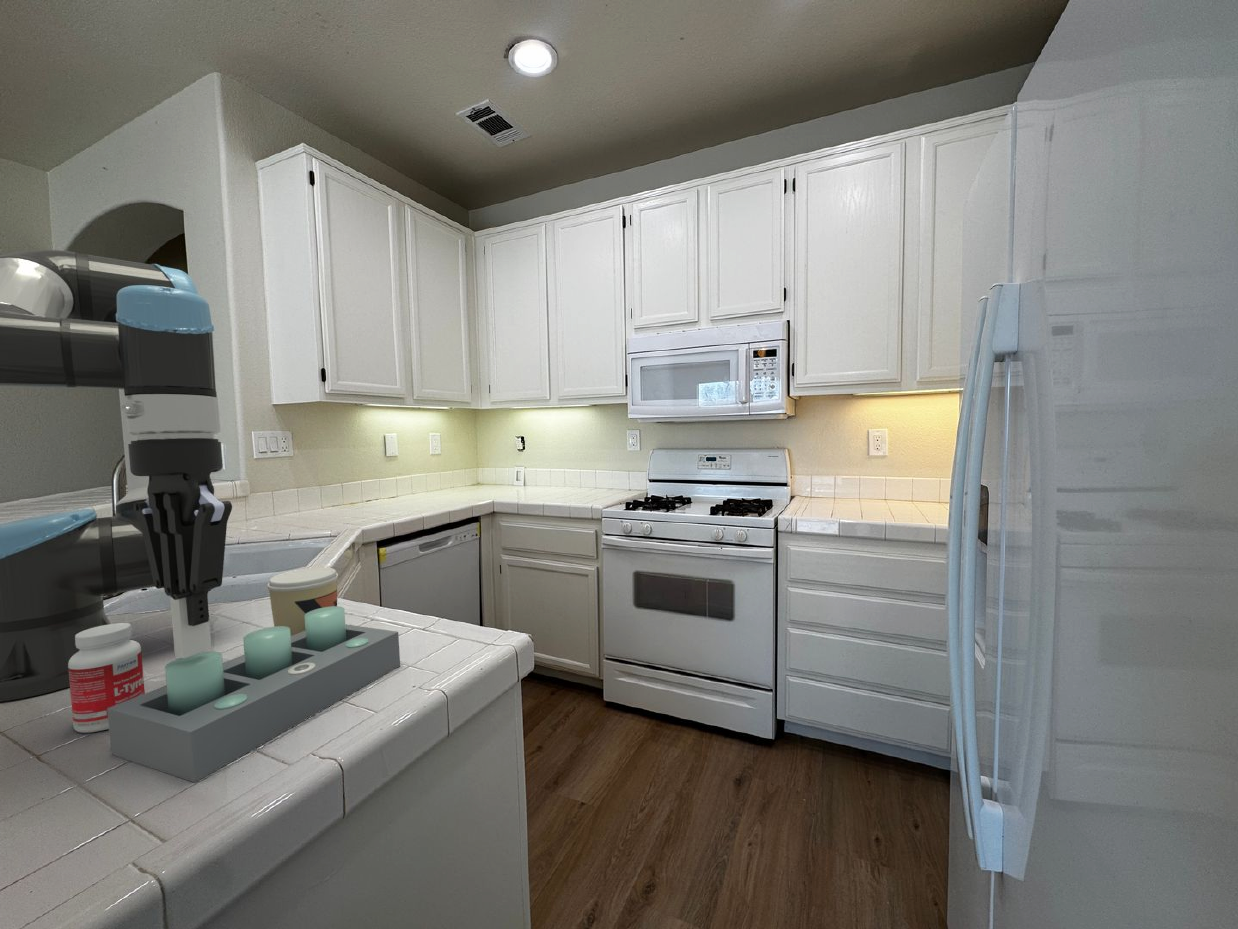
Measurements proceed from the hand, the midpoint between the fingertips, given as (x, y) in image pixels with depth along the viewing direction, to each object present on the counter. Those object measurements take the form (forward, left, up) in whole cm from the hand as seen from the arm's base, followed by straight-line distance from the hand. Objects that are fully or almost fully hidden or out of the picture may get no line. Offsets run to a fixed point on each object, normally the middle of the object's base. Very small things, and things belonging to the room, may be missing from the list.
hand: (193, 652), depth 56 cm
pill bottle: (-15, -1, -10) cm, 18 cm away
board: (+1, +8, -10) cm, 13 cm away
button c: (0, +16, -6) cm, 17 cm away
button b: (0, +8, -6) cm, 10 cm away
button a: (0, 0, -6) cm, 6 cm away
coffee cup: (-11, +21, -10) cm, 26 cm away
